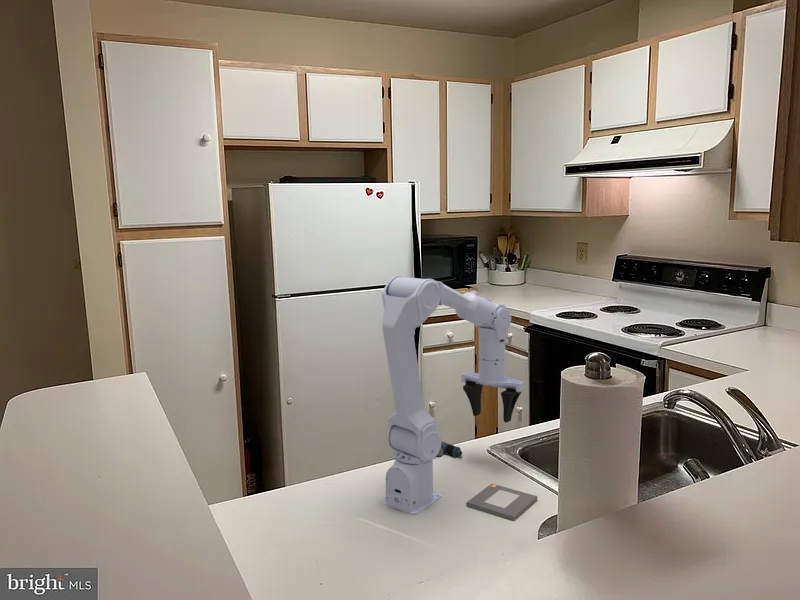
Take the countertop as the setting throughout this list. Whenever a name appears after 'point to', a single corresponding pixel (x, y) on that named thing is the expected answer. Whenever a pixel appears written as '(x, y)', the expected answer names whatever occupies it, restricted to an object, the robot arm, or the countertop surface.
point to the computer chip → (502, 501)
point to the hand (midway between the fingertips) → (491, 417)
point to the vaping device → (449, 450)
